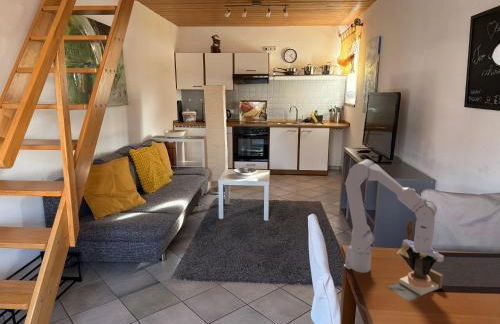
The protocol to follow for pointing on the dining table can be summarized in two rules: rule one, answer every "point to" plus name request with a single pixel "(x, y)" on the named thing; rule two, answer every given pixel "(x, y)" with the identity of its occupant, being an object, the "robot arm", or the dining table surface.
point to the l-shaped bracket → (434, 277)
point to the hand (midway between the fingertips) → (419, 271)
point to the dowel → (419, 268)
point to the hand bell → (409, 232)
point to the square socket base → (418, 283)
